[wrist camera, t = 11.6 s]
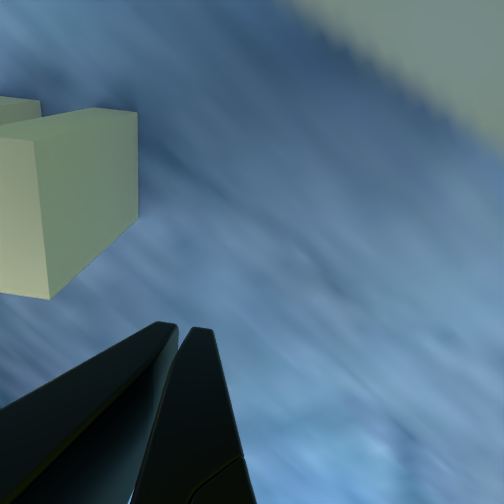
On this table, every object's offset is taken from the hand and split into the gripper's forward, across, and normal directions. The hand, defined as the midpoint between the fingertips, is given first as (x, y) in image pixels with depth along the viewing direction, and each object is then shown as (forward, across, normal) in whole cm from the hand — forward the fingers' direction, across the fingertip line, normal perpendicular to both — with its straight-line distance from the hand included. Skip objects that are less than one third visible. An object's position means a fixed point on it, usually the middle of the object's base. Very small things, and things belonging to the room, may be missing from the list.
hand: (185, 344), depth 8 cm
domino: (+12, +6, 0) cm, 14 cm away
